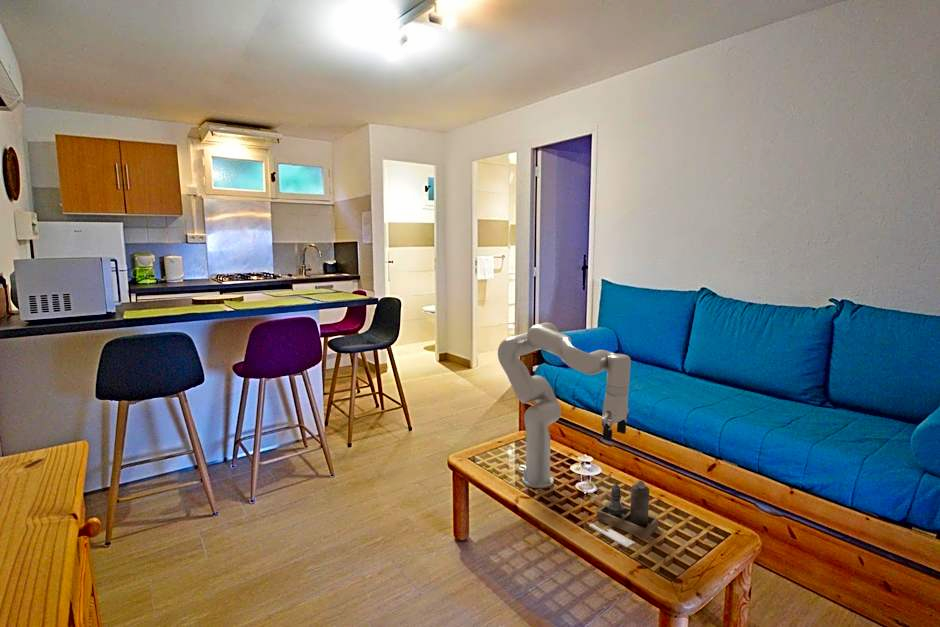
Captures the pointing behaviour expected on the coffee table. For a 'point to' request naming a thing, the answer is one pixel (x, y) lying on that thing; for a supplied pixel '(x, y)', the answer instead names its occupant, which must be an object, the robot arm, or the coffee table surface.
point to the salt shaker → (615, 502)
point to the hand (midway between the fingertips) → (614, 436)
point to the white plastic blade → (614, 536)
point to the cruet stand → (633, 514)
